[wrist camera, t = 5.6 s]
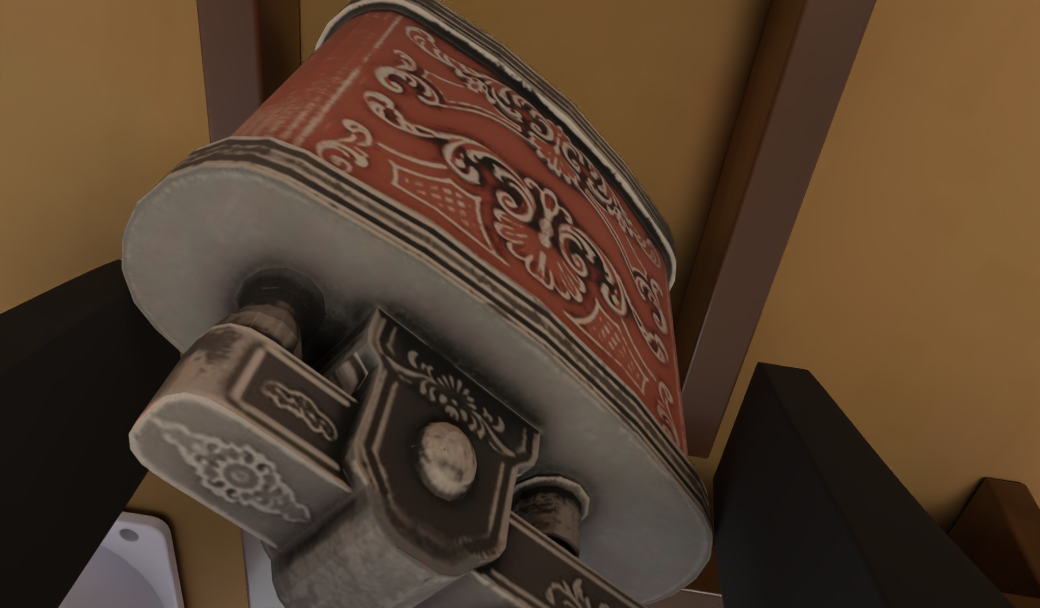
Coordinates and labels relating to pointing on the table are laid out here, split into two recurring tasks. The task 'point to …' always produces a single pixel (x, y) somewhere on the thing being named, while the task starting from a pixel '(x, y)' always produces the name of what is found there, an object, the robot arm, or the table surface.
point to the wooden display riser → (722, 252)
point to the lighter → (422, 334)
